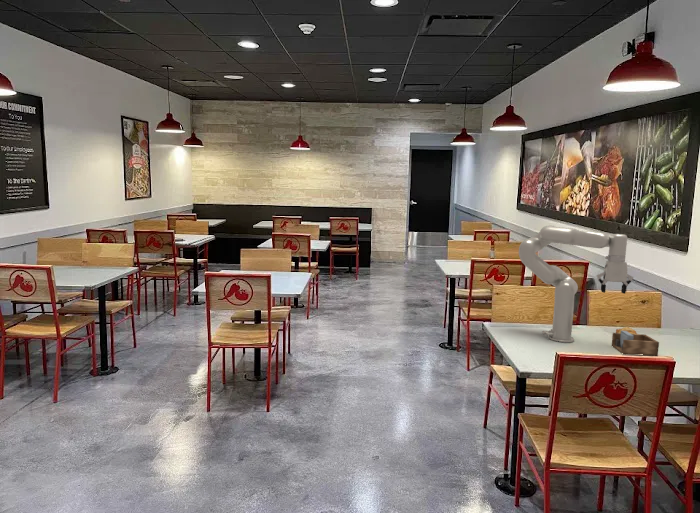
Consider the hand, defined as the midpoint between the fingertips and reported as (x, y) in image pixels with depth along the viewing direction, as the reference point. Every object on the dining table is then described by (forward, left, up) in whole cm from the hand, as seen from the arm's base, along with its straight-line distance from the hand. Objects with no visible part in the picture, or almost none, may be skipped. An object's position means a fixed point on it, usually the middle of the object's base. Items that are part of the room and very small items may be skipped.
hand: (613, 292), depth 260 cm
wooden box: (+11, -4, -28) cm, 31 cm away
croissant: (+17, +18, -29) cm, 38 cm away
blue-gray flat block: (+7, -4, -27) cm, 28 cm away
